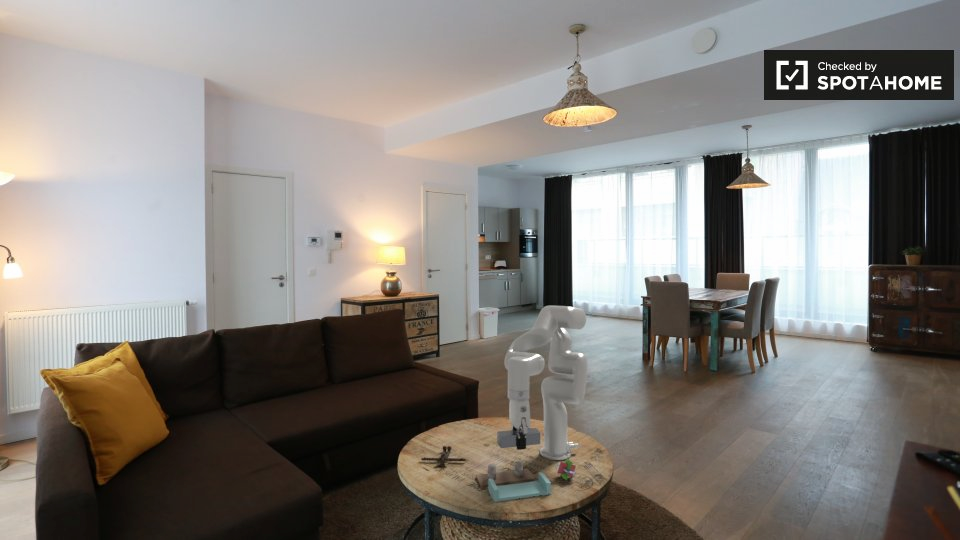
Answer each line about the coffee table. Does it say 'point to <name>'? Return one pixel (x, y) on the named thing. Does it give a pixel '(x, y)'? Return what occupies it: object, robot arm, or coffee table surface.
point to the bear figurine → (444, 457)
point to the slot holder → (520, 489)
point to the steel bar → (510, 437)
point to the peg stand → (506, 476)
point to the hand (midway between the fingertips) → (518, 445)
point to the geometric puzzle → (566, 469)
